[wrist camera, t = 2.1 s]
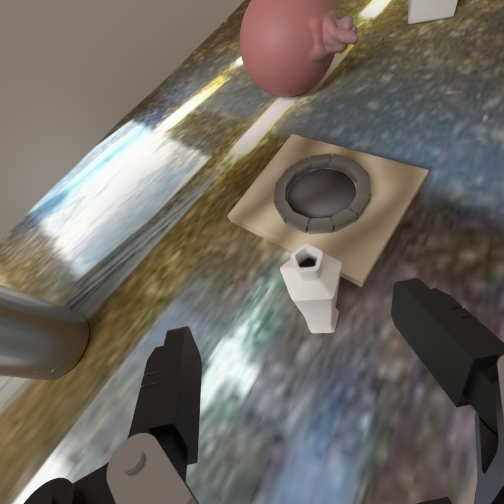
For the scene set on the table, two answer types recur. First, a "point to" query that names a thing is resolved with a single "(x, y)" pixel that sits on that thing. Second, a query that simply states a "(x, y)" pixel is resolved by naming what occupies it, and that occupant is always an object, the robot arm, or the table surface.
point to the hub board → (330, 202)
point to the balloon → (292, 43)
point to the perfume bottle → (314, 286)
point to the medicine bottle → (430, 10)
